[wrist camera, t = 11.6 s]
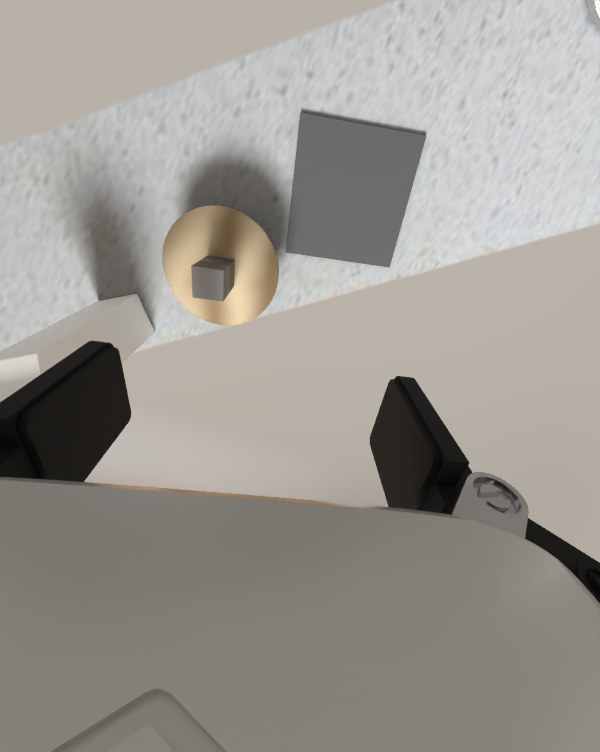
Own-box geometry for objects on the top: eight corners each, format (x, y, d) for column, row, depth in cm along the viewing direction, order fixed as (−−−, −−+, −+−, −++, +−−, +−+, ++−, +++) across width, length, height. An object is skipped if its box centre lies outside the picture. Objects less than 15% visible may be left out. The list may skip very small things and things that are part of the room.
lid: (284, 216, 32) (282, 220, 26) (273, 329, 38) (268, 352, 32) (159, 195, 31) (127, 194, 25) (169, 315, 37) (146, 337, 31)
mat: (424, 136, 33) (426, 135, 33) (388, 266, 40) (389, 267, 40) (300, 113, 32) (300, 112, 32) (285, 251, 39) (285, 252, 39)
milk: (98, 300, 42) (-65, 381, 23) (138, 292, 42) (4, 369, 23) (119, 339, 45) (-11, 439, 26) (156, 332, 45) (51, 429, 26)
